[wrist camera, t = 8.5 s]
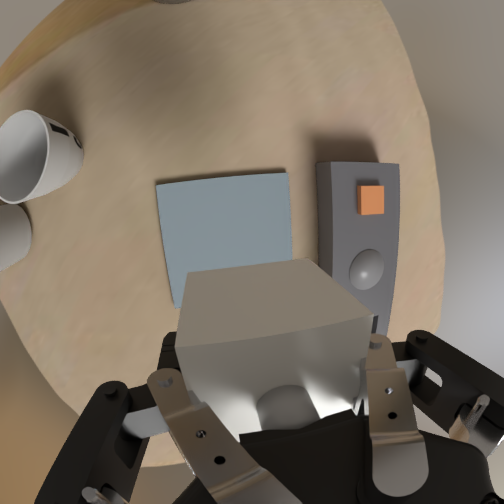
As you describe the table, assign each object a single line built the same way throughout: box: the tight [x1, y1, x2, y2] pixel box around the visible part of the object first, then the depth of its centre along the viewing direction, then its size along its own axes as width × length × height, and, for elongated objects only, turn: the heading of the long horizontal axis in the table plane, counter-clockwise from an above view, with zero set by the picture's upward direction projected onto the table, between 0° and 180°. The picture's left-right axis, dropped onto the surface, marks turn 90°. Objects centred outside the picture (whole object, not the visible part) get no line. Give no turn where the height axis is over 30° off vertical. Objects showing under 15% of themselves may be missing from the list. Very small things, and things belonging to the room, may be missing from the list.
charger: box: [175, 258, 374, 442], centre depth 11 cm, size 6×6×10 cm
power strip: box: [316, 162, 400, 336], centre depth 32 cm, size 30×9×5 cm, turn 4°
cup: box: [0, 110, 84, 204], centre depth 20 cm, size 8×8×10 cm
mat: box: [156, 173, 292, 308], centre depth 30 cm, size 14×14×1 cm
